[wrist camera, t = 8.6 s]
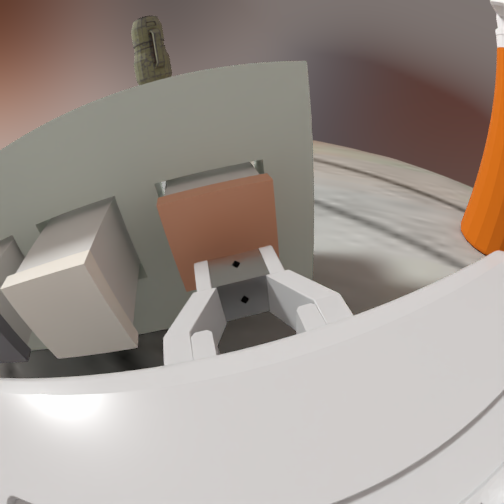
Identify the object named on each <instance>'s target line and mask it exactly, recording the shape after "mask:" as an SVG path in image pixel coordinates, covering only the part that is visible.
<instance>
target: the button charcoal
mask: <svg viewBox="0 0 504 504" xmlns="http://www.w3.org/2000/svg"><path fill="white" fill-rule="evenodd" d="M24 258H25V257H24V255H23V254H22V252H21V250H20V248H19V247H18V245H17V243H16V241H15V239H14V237H13V235H11V236H9V237H7V238H5V239H2V240H0V289H1V287H2V285H3V283H4V281H5V280H6V278H7V276H10V275H13V274H15V273H16V272H17V270H18V268H19V267H20V265H21V263H22V262H23V260H24ZM31 333H32V330H31V329H30V328H29V326H28V325H27V324H26V323H25V322H24V320H23V319H22V318H21V317H20V315H19V314H18V313H17V312H16V310H15V309H14V308H13V306H12V305H11V304H10V302H9V301H8V300H7V298H6V297H5V295H4V294H3V293H2V291H1V290H0V363H10V362H27V361H28V360H29V356H30V352H31V349H30V348H29V347H28V342H29V339H30V336H31Z"/></svg>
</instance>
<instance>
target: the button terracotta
mask: <svg viewBox="0 0 504 504" xmlns="http://www.w3.org/2000/svg"><path fill="white" fill-rule="evenodd" d="M157 210H158V213H159V216H160V219H161V222H162V225H163V228H164V231H165V234H166V237H167V240H168V243H169V246H170V248H171V251H172V254H173V257H174V260H175V262H176V265H177V268H178V271H179V273H180V276H181V279H182V281H183V284H184V286H185V289H186V292H188V291H192V290H197V289H196V280H195V271H194V263H197V262H201V261H206V260H207V261H208V260H210V259H215V258H219V257H224V256H229V255H234V254H238V253H243V252H247V251H251V250H255V249H258V248H261V247H265V246H269V245H271V246H272V247H273V249H274V250H275V252H276V254H277V256H278V258H279V248H278V235H277V222H276V210H275V198H274V187H273V179H272V178H271V177H270V176H269V175H268V174H267V173H265V174H259V173H258V172H257V170H256V169H255V168H254V167H253V165H252V164H251V163H250V162H246V163H241V164H236V165H231V166H226V167H221V168H216V169H212V170H207V171H203V172H199V173H194V174H190V175H186V176H182V177H178V178H174V179H170V180H166V187H165V194H164V196H163V197H159V198H158V200H157Z"/></svg>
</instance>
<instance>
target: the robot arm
mask: <svg viewBox="0 0 504 504" xmlns="http://www.w3.org/2000/svg"><path fill="white" fill-rule="evenodd" d="M194 271H195V280H196V289H197V292H194V293H193V294H192V295H191V297H190V298H189V300H188V301H187V303H186V304H185V306H184V307H183V309H182V310H181V312H180V313H179V315H178V316H177V318H176V319H175V321H174V322H173V324H172V325H171V327H170V328H169V330H168V331H167V333H166V334H165V336H164V338H163V353H164V366H158V367H152V368H146V369H139V370H131V371H124V372H116V373H107V374H97V375H86V376H73V377H55V378H0V504H504V251H500V250H497V251H494V252H492V253H490V254H489V255H487V256H485V257H484V258H482V259H480V260H478V261H476V262H474V263H472V264H471V265H469V266H467V267H465V268H463V269H461V270H459V271H457V272H455V273H453V274H451V275H449V276H447V277H445V278H442V279H440V280H438V281H436V282H434V283H432V284H430V285H427V286H425V287H423V288H421V289H419V290H416V291H414V292H412V293H409V294H407V295H405V296H402V297H400V298H397V299H395V300H393V301H390V302H388V303H385V304H383V305H380V306H378V307H375V308H372V309H370V310H367V311H364V312H362V313H359V314H356V315H353V314H352V312H351V310H350V309H349V307H348V306H347V304H346V303H345V301H344V300H343V298H342V297H341V295H340V293H338V292H335V291H333V290H331V289H329V288H327V287H325V286H323V285H321V284H318V283H316V282H314V281H312V280H310V279H308V278H306V277H304V276H301V275H299V274H297V273H295V272H293V271H291V270H285V269H284V267H283V266H282V264H281V262H280V260H279V258H278V256H277V254H276V252H275V250H274V249H273V247H272V246H271V245H269V246H265V247H261V248H258V249H255V250H251V251H247V252H243V253H238V254H234V255H229V256H224V257H219V258H215V259H210V260H208V261H207V260H206V261H201V262H197V263H194ZM268 311H270V312H271V313H272V314H274V315H275V316H276V317H278V318H279V319H280V320H282V321H283V322H284V323H286V324H287V325H289V326H290V327H291V328H293V329H294V330H295V331H296V335H293V336H289V337H286V338H282V339H279V340H275V341H272V342H268V343H264V344H261V345H257V346H253V347H249V348H245V349H241V350H237V351H233V352H228V353H224V354H220V352H219V349H218V347H217V346H218V344H219V341H220V339H221V336H222V334H223V331H224V329H225V326H226V324H227V322H228V321H232V320H236V319H239V318H243V317H246V316H251V315H255V314H259V313H264V312H268Z"/></svg>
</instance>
